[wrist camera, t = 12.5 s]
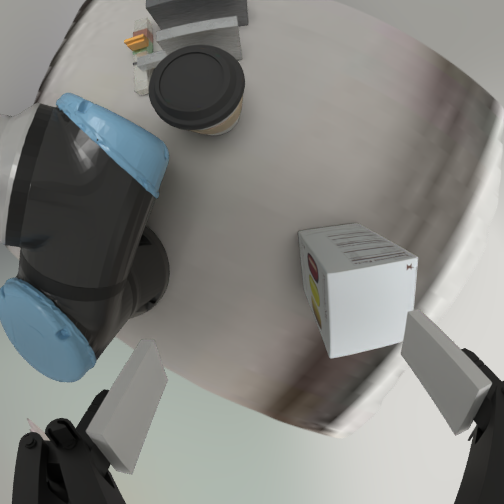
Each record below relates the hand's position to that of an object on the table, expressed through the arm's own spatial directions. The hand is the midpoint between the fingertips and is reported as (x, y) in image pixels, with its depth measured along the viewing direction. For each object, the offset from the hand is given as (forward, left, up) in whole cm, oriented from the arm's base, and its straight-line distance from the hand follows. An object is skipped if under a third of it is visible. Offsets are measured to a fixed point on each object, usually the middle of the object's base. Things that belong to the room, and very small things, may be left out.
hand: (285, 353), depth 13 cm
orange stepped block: (-14, +30, -24) cm, 41 cm away
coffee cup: (-5, +18, -27) cm, 33 cm away
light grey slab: (-7, +26, -26) cm, 38 cm away
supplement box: (+9, -4, -27) cm, 29 cm away
